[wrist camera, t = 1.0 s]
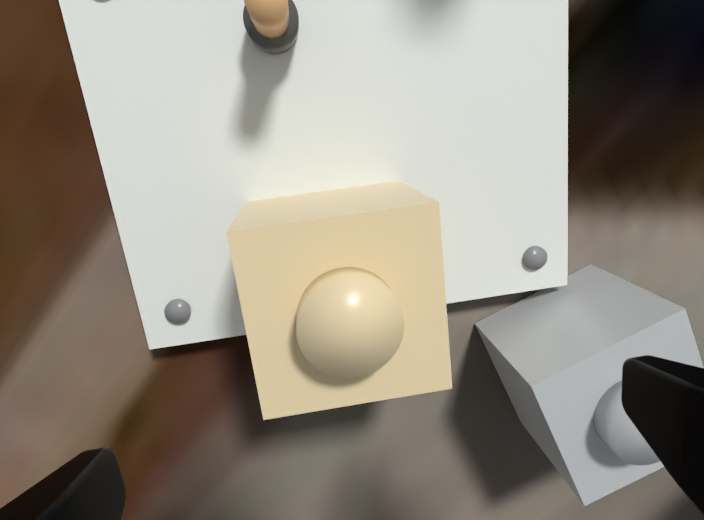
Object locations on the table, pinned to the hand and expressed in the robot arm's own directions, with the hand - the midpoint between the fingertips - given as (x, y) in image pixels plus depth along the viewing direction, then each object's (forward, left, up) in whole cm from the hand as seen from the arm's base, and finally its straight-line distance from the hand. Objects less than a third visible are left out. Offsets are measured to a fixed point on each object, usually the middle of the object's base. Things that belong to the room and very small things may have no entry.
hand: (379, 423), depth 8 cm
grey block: (-6, -10, -13) cm, 18 cm away
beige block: (0, 0, -12) cm, 12 cm away
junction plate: (+5, -1, -13) cm, 14 cm away
